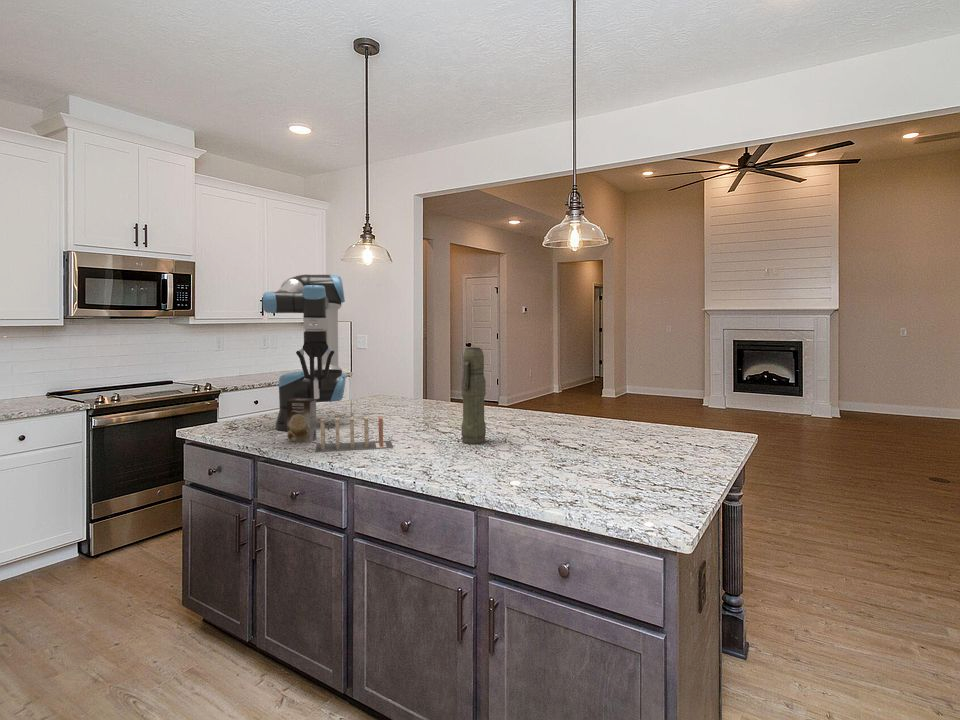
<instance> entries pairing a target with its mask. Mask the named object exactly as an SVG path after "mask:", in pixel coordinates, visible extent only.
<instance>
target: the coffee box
mask: <svg viewBox="0 0 960 720" xmlns="http://www.w3.org/2000/svg"><path fill="white" fill-rule="evenodd" d="M286 432H287V433H286V435H287V443H292V444H293V443H294V444H296V443H302V444H304V443H305V444H311V443H313V442H315V441H316V440H317V402H316V399H313V398H292V399H289V400H287V431H286Z"/></svg>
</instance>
